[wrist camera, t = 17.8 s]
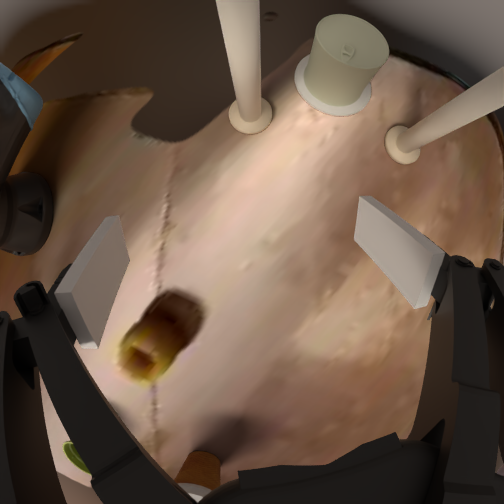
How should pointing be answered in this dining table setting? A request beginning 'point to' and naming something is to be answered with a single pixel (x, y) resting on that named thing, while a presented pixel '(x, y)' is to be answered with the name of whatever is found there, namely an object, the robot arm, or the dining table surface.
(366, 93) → the coaster
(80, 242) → the dining table surface
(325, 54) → the can
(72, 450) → the plant pot
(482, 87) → the gate
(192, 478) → the disposable coffee cup
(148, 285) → the dining table surface
